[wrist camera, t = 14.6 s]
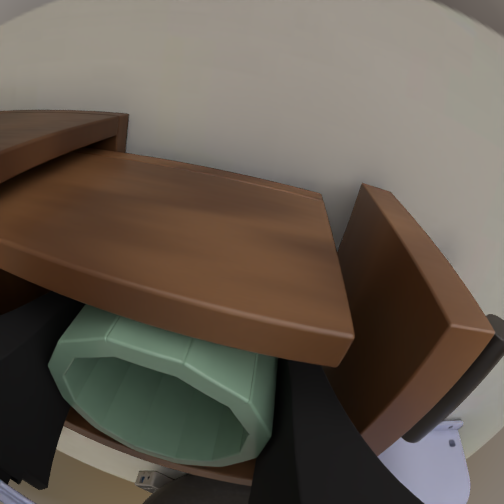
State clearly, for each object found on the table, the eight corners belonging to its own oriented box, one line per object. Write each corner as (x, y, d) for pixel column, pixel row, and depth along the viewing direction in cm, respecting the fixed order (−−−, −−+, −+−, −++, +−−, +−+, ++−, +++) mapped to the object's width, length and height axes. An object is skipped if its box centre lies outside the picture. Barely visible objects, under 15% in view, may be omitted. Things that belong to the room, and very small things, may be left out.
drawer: (478, 225, 10) (582, 345, 4) (388, 376, 15) (408, 496, 8) (74, 127, 10) (-77, 189, 4) (85, 305, 15) (13, 406, 8)
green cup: (299, 237, 9) (302, 388, 5) (261, 353, 12) (243, 478, 7) (134, 200, 9) (23, 303, 5) (135, 320, 12) (78, 427, 7)
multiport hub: (196, 498, 35) (193, 510, 33) (137, 471, 32) (133, 484, 30) (216, 497, 33) (213, 510, 31) (155, 470, 30) (150, 485, 28)
